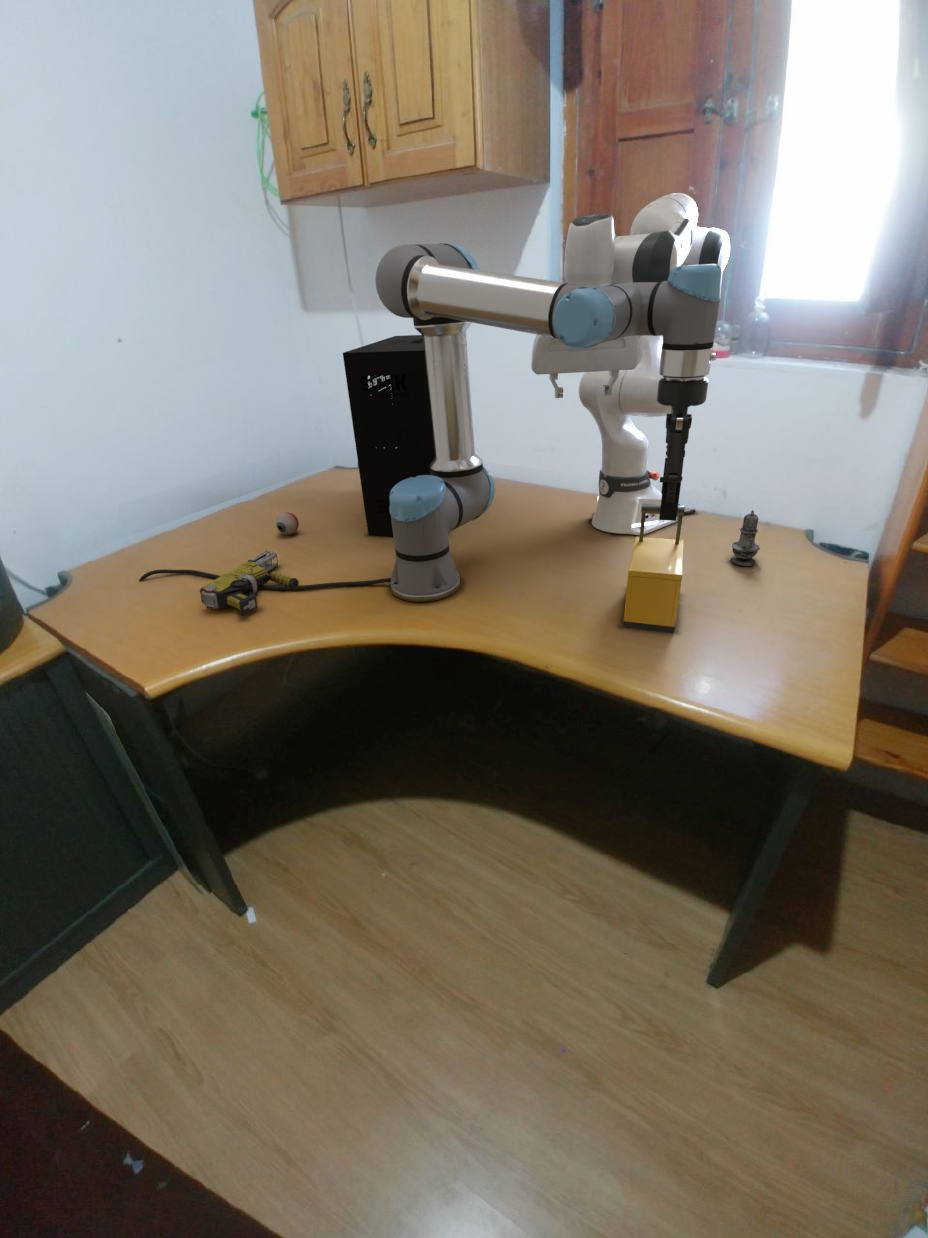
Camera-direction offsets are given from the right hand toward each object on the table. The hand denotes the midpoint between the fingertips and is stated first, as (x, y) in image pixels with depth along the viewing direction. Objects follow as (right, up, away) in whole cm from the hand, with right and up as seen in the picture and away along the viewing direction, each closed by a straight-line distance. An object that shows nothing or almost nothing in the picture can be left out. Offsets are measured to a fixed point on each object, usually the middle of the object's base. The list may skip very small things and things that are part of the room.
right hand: (582, 396), depth 119 cm
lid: (+13, -33, -4) cm, 35 cm away
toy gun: (-69, -38, +17) cm, 80 cm away
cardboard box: (-35, -13, +56) cm, 68 cm away
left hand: (+13, -24, -13) cm, 30 cm away
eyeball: (-71, -21, +46) cm, 88 cm away
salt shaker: (+40, -31, +18) cm, 53 cm away
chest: (+14, -42, +1) cm, 44 cm away
